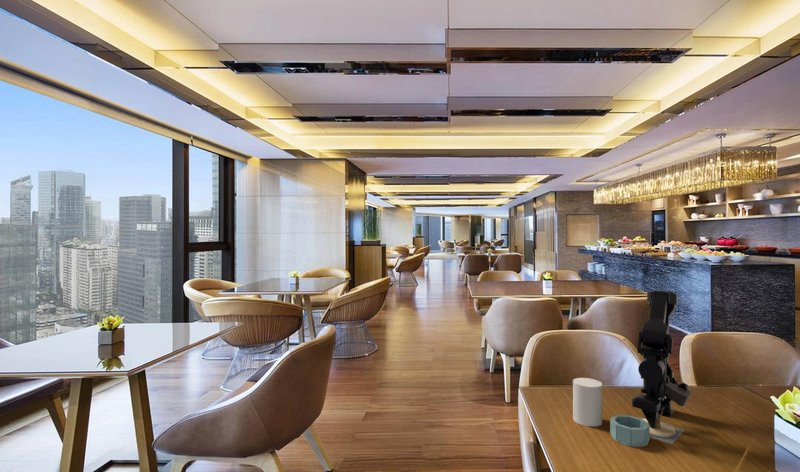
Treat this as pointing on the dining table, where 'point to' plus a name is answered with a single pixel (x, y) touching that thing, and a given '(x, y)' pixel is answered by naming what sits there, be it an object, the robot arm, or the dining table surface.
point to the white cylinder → (587, 402)
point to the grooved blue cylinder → (630, 430)
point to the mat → (671, 439)
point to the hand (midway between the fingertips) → (654, 425)
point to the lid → (661, 429)
